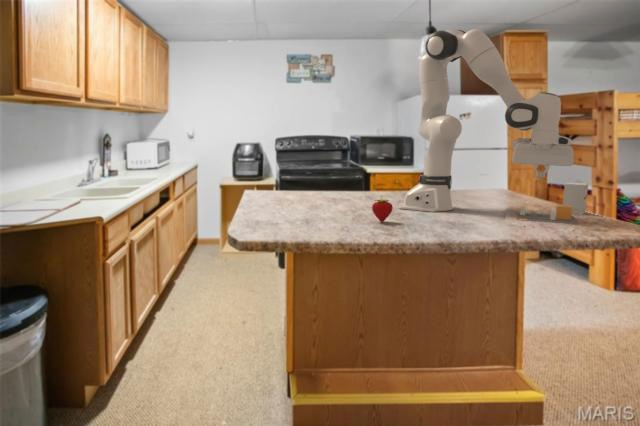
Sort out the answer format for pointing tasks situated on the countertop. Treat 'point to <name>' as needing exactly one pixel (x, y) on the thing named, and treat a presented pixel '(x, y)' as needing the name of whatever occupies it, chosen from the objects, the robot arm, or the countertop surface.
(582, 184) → the supplement box
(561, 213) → the orange block
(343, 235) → the countertop surface
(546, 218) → the breaker panel
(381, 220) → the strawberry
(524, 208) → the untagged breaker
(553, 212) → the tagged breaker
